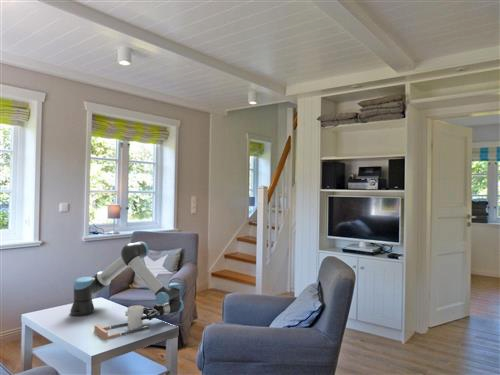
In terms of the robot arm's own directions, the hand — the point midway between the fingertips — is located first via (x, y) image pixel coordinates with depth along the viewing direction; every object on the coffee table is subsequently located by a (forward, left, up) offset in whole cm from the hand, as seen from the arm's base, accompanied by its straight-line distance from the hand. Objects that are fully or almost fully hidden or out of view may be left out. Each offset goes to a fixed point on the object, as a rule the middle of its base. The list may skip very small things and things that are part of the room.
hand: (130, 316), depth 230 cm
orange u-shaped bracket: (0, -14, -7) cm, 16 cm away
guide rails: (0, 0, -7) cm, 7 cm away
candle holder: (0, +3, -7) cm, 8 cm away
